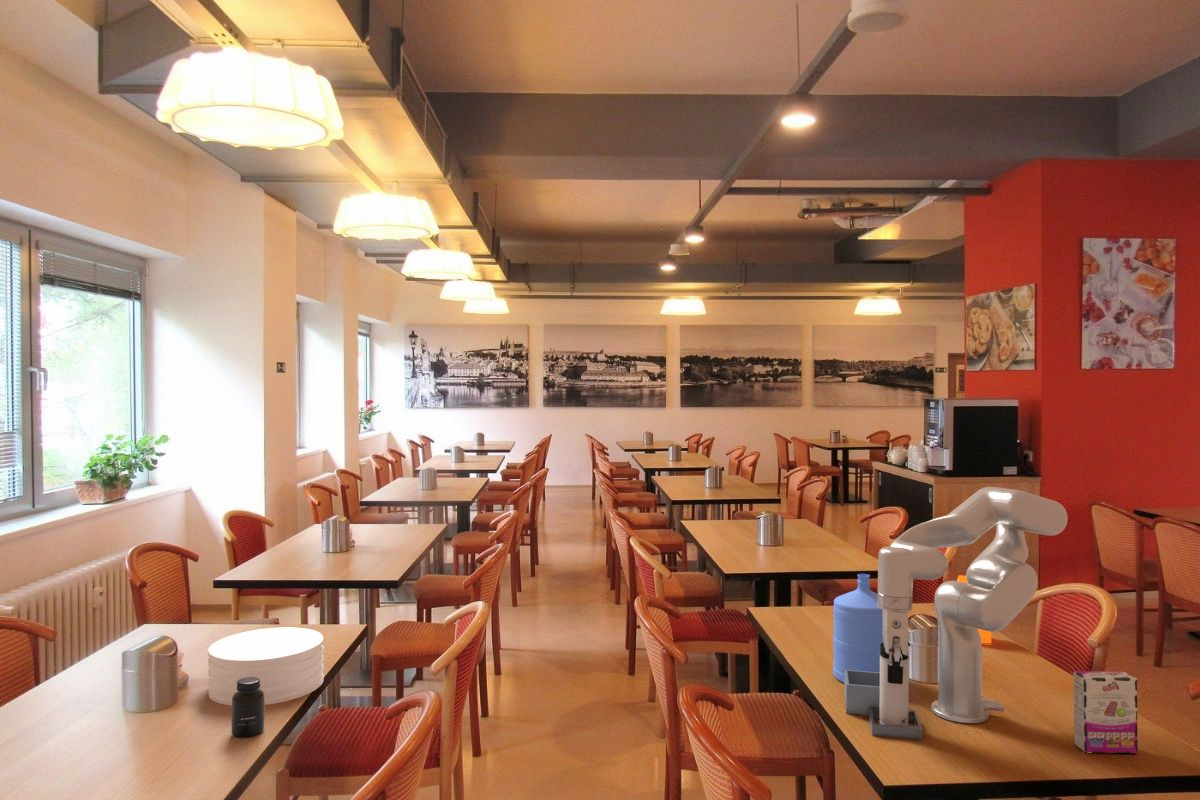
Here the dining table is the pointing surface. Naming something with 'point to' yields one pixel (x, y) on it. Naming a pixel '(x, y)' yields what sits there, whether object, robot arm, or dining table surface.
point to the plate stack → (267, 663)
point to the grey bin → (861, 691)
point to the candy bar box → (1105, 711)
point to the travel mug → (893, 693)
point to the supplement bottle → (248, 708)
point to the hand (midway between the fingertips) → (892, 676)
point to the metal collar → (892, 730)
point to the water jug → (857, 630)
